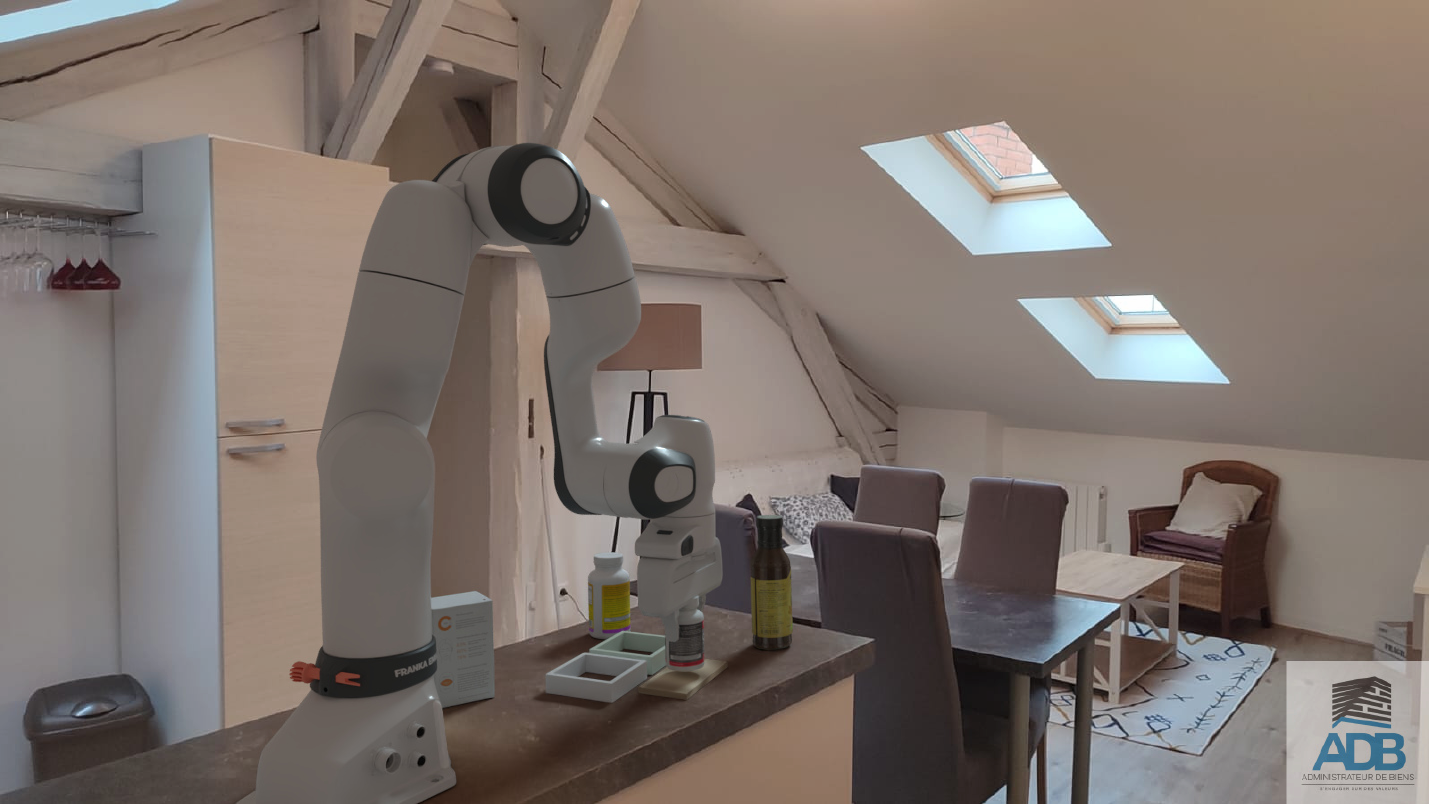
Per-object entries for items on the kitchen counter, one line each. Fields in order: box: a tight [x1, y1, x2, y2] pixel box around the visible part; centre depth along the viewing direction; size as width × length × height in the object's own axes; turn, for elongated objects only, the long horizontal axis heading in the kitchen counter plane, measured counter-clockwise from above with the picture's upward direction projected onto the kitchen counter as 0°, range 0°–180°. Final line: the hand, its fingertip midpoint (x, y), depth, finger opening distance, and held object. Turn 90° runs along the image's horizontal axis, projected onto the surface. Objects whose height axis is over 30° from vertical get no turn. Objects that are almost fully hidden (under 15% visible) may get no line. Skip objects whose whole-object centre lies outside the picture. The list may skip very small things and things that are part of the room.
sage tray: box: [588, 631, 667, 676], centre depth 141 cm, size 10×10×2 cm
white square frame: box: [545, 652, 648, 704], centre depth 131 cm, size 10×10×2 cm
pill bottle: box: [665, 596, 706, 672], centre depth 132 cm, size 5×5×10 cm
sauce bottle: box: [750, 514, 794, 651], centre depth 148 cm, size 6×6×20 cm
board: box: [638, 658, 728, 701], centre depth 133 cm, size 14×7×1 cm, turn 157°
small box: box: [431, 590, 496, 709], centre depth 127 cm, size 8×6×13 cm
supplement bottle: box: [587, 551, 631, 640], centre depth 154 cm, size 7×7×13 cm
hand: (684, 633), depth 133 cm, fingers closed on pill bottle, 5 cm apart
